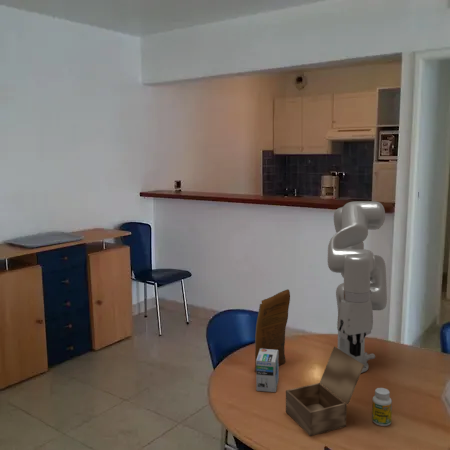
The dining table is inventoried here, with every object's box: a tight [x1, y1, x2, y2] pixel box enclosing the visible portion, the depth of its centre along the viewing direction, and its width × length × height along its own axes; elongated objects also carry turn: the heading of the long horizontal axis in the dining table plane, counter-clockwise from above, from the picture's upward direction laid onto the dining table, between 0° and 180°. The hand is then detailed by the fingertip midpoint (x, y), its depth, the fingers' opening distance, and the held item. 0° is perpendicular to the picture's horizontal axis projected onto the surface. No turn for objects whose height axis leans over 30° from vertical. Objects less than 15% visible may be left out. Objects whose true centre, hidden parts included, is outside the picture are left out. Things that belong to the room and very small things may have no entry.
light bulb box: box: [255, 349, 280, 393], centre depth 166 cm, size 11×7×11 cm, turn 168°
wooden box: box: [285, 382, 348, 437], centre depth 145 cm, size 12×14×7 cm
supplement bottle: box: [371, 387, 393, 427], centre depth 143 cm, size 5×5×10 cm
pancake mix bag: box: [254, 289, 291, 373], centre depth 179 cm, size 7×19×28 cm, turn 132°
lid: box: [319, 346, 364, 405], centre depth 147 cm, size 12×14×1 cm
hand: (355, 354), depth 148 cm, fingers closed
